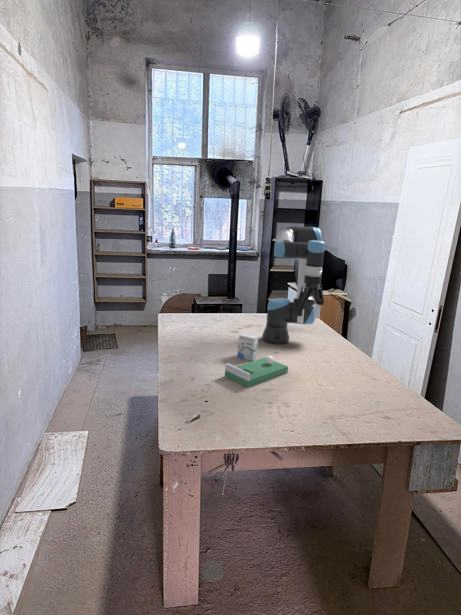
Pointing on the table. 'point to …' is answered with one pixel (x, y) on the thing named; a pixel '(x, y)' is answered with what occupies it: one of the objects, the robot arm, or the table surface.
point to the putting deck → (254, 372)
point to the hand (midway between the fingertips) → (308, 320)
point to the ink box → (247, 346)
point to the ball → (269, 360)
